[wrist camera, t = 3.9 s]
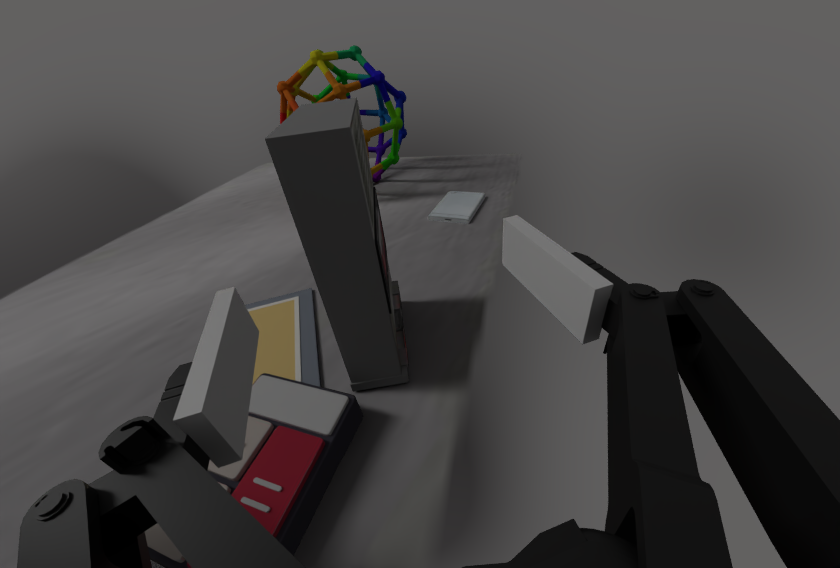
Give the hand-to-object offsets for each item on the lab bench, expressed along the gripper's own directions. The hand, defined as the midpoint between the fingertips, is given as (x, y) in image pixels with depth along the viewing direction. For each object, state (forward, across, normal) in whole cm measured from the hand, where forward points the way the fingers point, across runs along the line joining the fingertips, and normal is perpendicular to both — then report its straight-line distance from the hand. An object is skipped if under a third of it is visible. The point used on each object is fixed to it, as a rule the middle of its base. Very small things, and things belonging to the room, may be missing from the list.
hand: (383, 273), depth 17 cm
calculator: (+4, -13, -20) cm, 24 cm away
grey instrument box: (+16, -1, -20) cm, 26 cm away
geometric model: (+72, +6, -19) cm, 75 cm away
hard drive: (+47, +22, -20) cm, 55 cm away
